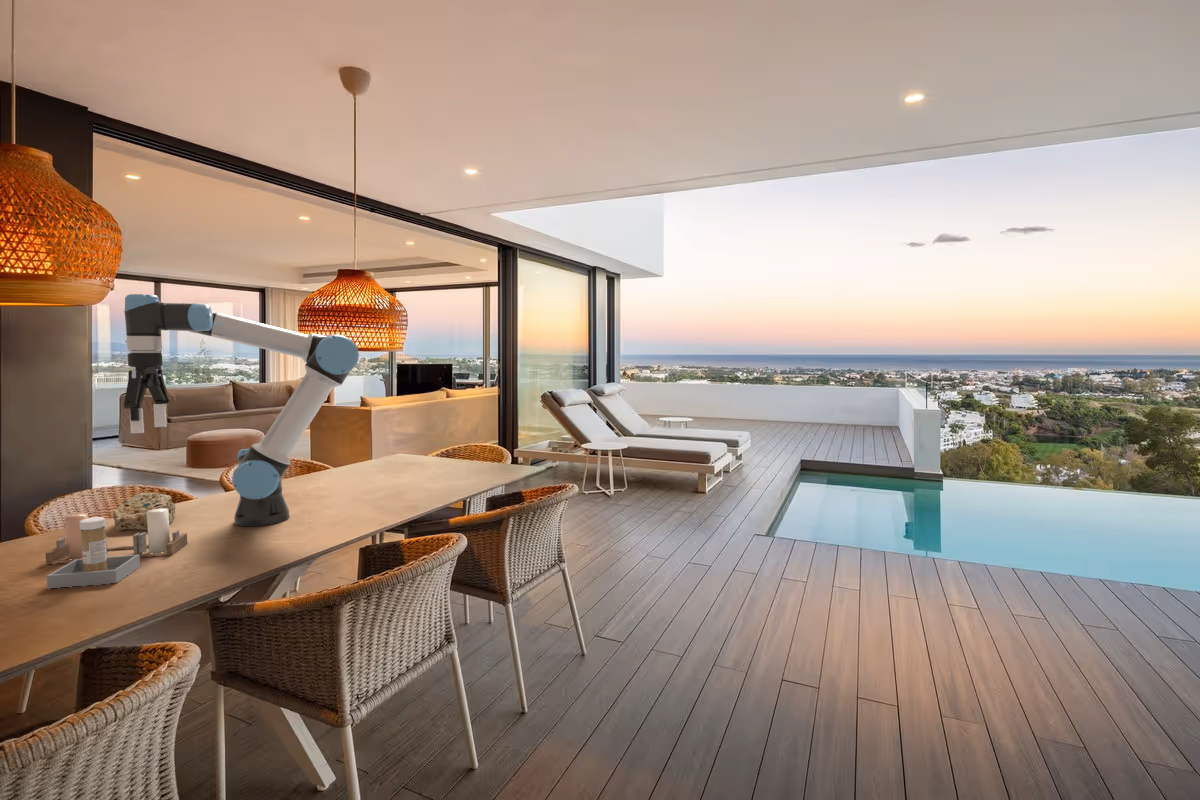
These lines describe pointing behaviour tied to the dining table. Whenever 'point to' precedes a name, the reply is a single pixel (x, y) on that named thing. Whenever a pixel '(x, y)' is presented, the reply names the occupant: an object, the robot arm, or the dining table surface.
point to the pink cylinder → (74, 534)
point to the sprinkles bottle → (93, 544)
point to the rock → (141, 510)
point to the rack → (121, 547)
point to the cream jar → (158, 530)
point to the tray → (93, 572)
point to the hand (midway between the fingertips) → (149, 430)
